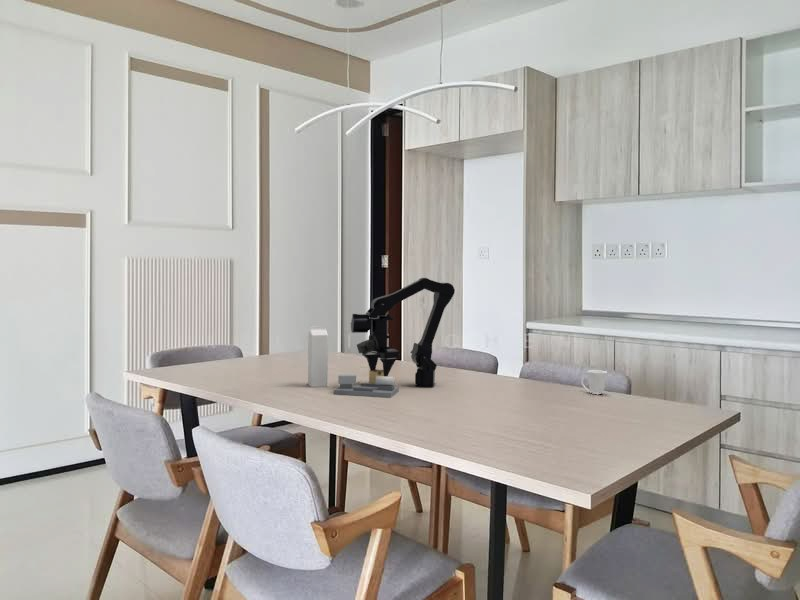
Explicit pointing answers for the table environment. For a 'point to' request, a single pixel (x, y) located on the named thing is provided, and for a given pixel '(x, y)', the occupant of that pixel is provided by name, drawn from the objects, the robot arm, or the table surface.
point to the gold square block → (375, 373)
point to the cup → (595, 380)
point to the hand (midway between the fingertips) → (379, 375)
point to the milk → (317, 356)
